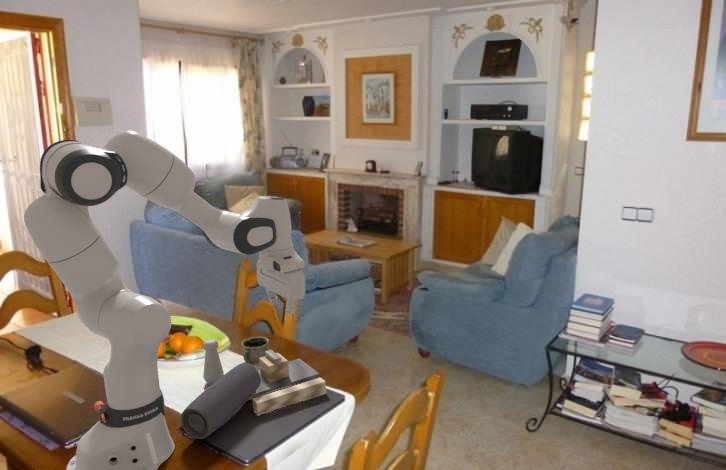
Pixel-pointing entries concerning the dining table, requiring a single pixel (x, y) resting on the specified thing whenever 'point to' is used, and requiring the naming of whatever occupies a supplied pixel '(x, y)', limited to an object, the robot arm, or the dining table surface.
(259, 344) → the vessel
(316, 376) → the ridge stand
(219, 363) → the salt shaker
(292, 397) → the birch batten
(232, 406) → the bluetooth speaker
